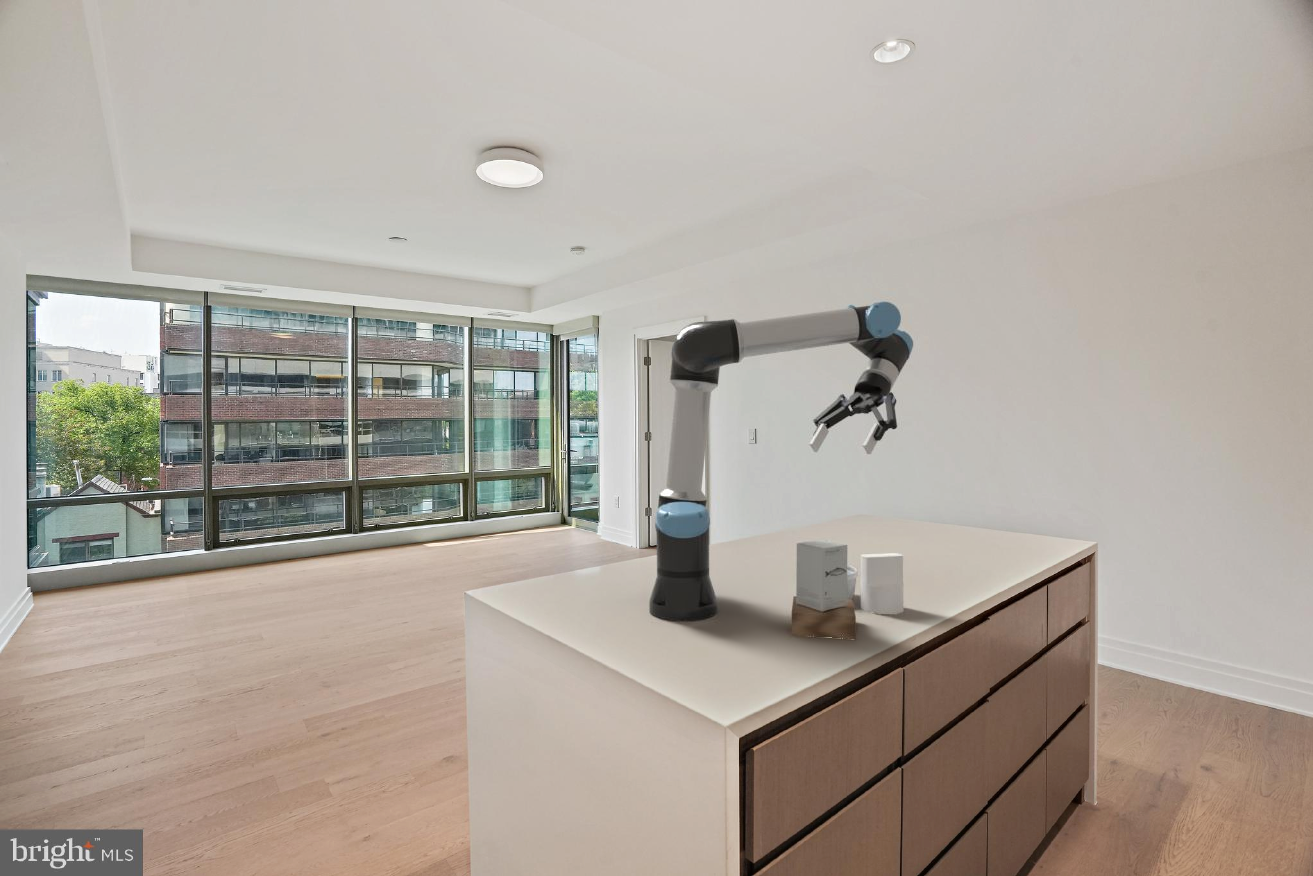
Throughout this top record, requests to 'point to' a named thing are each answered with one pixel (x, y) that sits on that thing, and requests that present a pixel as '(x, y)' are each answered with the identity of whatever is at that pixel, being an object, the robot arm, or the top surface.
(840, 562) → the supplement box
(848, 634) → the walnut block
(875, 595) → the cylinder with rectangular tab
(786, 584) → the top surface
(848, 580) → the ramekin
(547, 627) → the top surface
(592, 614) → the top surface
